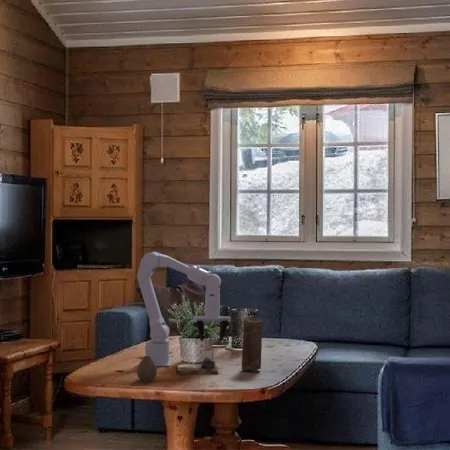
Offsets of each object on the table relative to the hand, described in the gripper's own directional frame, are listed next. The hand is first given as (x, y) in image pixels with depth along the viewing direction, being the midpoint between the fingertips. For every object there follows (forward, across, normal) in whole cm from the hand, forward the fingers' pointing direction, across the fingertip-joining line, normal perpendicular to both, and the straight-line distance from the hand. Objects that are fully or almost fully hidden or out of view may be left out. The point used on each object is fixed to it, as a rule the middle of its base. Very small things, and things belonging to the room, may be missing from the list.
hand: (211, 340), depth 351 cm
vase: (+11, -29, -25) cm, 40 cm away
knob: (+7, -3, -8) cm, 11 cm away
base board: (+10, -7, -8) cm, 15 cm away
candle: (+10, +13, -11) cm, 20 cm away
